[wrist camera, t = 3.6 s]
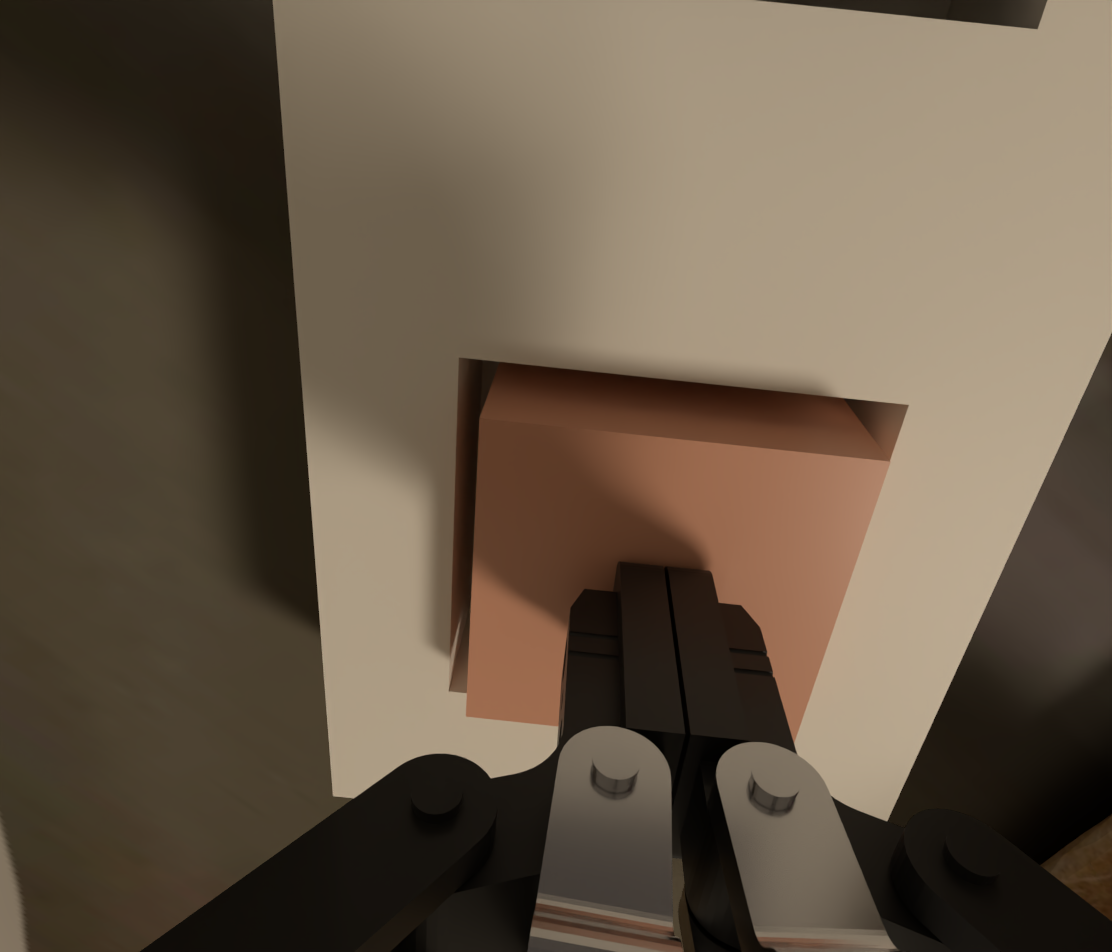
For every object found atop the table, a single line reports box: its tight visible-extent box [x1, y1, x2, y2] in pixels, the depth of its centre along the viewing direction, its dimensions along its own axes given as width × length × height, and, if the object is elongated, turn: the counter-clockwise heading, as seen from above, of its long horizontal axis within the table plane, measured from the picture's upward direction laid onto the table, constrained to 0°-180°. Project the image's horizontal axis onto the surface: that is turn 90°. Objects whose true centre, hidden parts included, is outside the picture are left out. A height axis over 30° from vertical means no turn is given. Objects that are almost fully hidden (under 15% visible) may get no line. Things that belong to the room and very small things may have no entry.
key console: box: [273, 0, 1112, 821], centre depth 12 cm, size 26×12×4 cm, turn 175°
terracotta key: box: [466, 362, 891, 742], centre depth 14 cm, size 6×6×3 cm
